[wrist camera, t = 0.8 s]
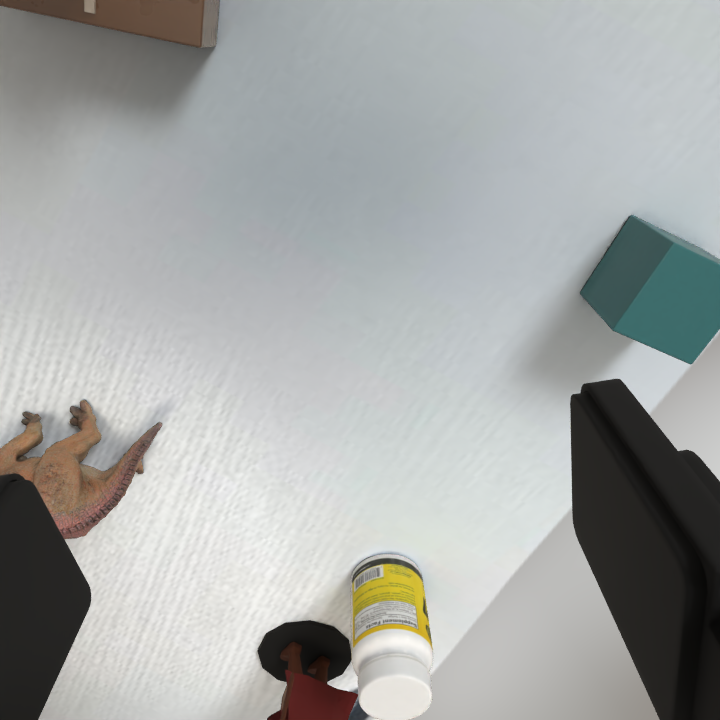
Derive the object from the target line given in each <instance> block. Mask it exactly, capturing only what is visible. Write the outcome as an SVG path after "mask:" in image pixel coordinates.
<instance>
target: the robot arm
mask: <svg viewBox="0 0 720 720" xmlns="http://www.w3.org/2000/svg"><path fill="white" fill-rule="evenodd" d="M570 408H571V459H572V511H573V524H574V528H575V532H576V536H577V538H578V541H579V543H580V545H581V547H582V550H583V552H584V554H585V556H586V559H587V561H588V563H589V565H590V567H591V570H592V572H593V574H594V576H595V578H596V580H597V582H598V585H599V587H600V589H601V592H602V594H603V596H604V598H605V600H606V602H607V605H608V607H609V609H610V611H611V613H612V616H613V618H614V620H615V622H616V624H617V627H618V629H619V631H620V633H621V636H622V638H623V640H624V642H625V644H626V646H627V649H628V651H629V653H630V655H631V657H632V660H633V662H634V664H635V666H636V668H637V671H638V673H639V675H640V677H641V679H642V682H643V684H644V686H645V688H646V690H647V692H648V695H649V697H650V699H651V701H652V704H653V706H654V708H655V710H656V712H657V715H658V717H659V719H660V720H720V481H719V480H718V479H717V478H716V476H715V475H714V474H713V473H712V472H711V470H710V469H709V468H708V467H707V466H706V464H705V463H704V462H703V461H702V460H701V459H700V458H699V457H698V456H697V455H696V454H695V453H694V452H692V451H689V450H683V451H677V449H676V448H675V447H674V446H673V445H672V443H671V442H670V441H669V439H668V438H667V437H666V436H665V435H664V433H663V432H662V431H661V429H660V428H659V427H658V426H657V424H656V423H655V422H654V421H653V419H652V418H651V417H650V416H649V414H648V413H647V412H646V410H645V409H644V408H643V407H642V405H641V404H640V403H639V402H638V400H637V399H636V398H635V397H634V395H633V394H632V393H631V392H630V390H629V389H628V388H627V387H626V385H625V384H624V383H623V382H622V381H621V380H620V379H612V380H606V381H599V382H593V383H586V384H583V385H582V388H581V393H579V394H573V395H572V396H571V402H570ZM90 603H91V590H90V587H89V584H88V583H87V581H86V579H85V577H84V575H83V573H82V571H81V570H80V568H79V566H78V564H77V562H76V560H75V558H74V557H73V555H72V553H71V551H70V549H69V547H68V545H67V544H66V542H65V540H64V538H63V536H62V534H61V532H60V531H59V529H58V527H57V525H56V523H55V521H54V519H53V518H52V516H51V514H50V512H49V510H48V508H47V506H46V505H45V503H44V501H43V499H42V497H41V495H40V493H39V492H38V490H37V488H36V486H35V485H34V483H33V482H31V481H30V480H25V478H24V477H23V476H21V475H20V474H16V473H12V474H6V475H0V720H38V719H39V716H40V714H41V712H42V710H43V708H44V706H45V703H46V701H47V699H48V697H49V695H50V692H51V690H52V688H53V686H54V684H55V681H56V679H57V677H58V675H59V673H60V671H61V668H62V666H63V664H64V662H65V660H66V657H67V655H68V653H69V651H70V649H71V647H72V644H73V642H74V640H75V638H76V636H77V633H78V631H79V629H80V627H81V625H82V623H83V620H84V618H85V616H86V614H87V612H88V609H89V607H90Z"/></svg>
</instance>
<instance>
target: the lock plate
mask: <svg viewBox="0 0 720 720" xmlns="http://www.w3.org/2000/svg"><path fill="white" fill-rule="evenodd" d="M219 1H220V0H0V6H4V7H8V8H13V9H18V10H23V11H27V12H32V13H37V14H41V15H46V16H51V17H56V18H60V19H65V20H70V21H75V22H79V23H84V24H89V25H93V26H98V27H103V28H108V29H112V30H117V31H122V32H126V33H131V34H136V35H141V36H145V37H150V38H155V39H159V40H164V41H169V42H174V43H178V44H183V45H188V46H193V47H197V48H204V47H214V46H216V41H217V28H218V15H219Z"/></svg>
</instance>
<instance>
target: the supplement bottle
mask: <svg viewBox="0 0 720 720" xmlns="http://www.w3.org/2000/svg"><path fill="white" fill-rule="evenodd" d="M351 659H352V666H353V669H354V671H355V673H356V675H357V676H358V694H359V703H360V706H361V708H362V709H363V710H364V711H365V712H366V713H367V714H368V715H370V716H371V717H373V718H376V719H379V720H410V719H413V718H415V717H417V716H419V715H421V714H423V713H424V712H425V711H426V710H427V709H428V707H429V706H430V704H431V702H432V687H431V675H430V670H431V668H432V664H433V648H432V641H431V634H430V628H429V620H428V614H427V606H426V599H425V592H424V585H423V579H422V575H421V572H420V570H419V568H418V567H417V565H416V564H415V563H414V562H412V561H411V560H409V559H408V558H405V557H403V556H400V555H394V554H381V555H376V556H372V557H370V558H368V559H366V560H364V561H363V562H361V563H360V564H359V565H358V566H357V567H356V568H355V570H354V572H353V574H352V577H351Z"/></svg>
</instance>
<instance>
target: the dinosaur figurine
mask: <svg viewBox="0 0 720 720" xmlns="http://www.w3.org/2000/svg"><path fill="white" fill-rule="evenodd" d="M80 408H81V409H79V408H77V407H74V406H71V408H70V412H71V413H72V414H73V415H74V416H75V418H71V420H70V423H71V424H72V425H74V426H78V427H79V429H80V430H81V431H80V432H78V433H76V434H74V435H72V436H70V437H68V438H66V439H64V440H62V441H60V442H56V443H55V444H53V445H52V446H51V447H49V448H47V449H46V451H45V454H44V455H43V456H42V458H40V457H32V458H27V457H25V456H23V455H24V454H26V453H27V452H28V451H29V450H30V449H31V448H33V447H35V446H37V445H38V444H40V443H41V442H42V440H43V434H42V431H41V430H42V425H41V424H40V422H39V421H40V420H41V417H39V415H38V414H36V415H33V414H31V413H28V412H23V416H24V417H26V418H27V419H23V420H22V423H23V424H25V425H27V427H26V430H25V431H24V433H22V434H20V435H18V436H17V437H15V438H14V439H12V440H11V441H10V442H9V443H7V444H6V445H4V446H3V447H2V448H0V475H6V474H12V473H16V474H20V475H21V476H23V477H24V478H25V480H30V481H31V482H33V483H34V485H35V486H36V488H37V490H38V492H39V493H40V495H41V497H42V499H43V501H44V503H45V505H46V506H47V508H48V510H49V512H50V514H51V516H52V518H53V519H54V521H55V523H56V525H57V527H58V529H59V531H60V532H61V534H62V536H63V538H64V539H71V538H78V537H81V536H85V535H86V534H87V533H88V532H89V531H90V530H91V528H92V527H94V526H95V525H97V524H98V522H99V521H100V520H102V519H103V518H104V517H106V516H107V514H108V513H109V512H110V511H111V510H112V509H113V508H114V507H115V506H116V505H118V503H119V501H120V500H121V498H122V497H123V496H124V495H125V494H126V490H127V488H128V487H129V485H130V484H131V482H132V478H133V476H134V474H135V472H137V473H138V474H142V473H143V466H142V462H141V459H142V458H143V455H144V454H145V452H146V451H147V449H148V448H149V446H150V445H151V442H152V441H153V439H154V437H155V436H156V434H157V432H158V431H159V430H160V428H161V427H162V423H161V422H159V423H157V424H156V425H155V426H153V427H152V428H151V429H149V430H148V431H147V432H146V433H145V434H144V435H143V436H142V437H140V438H139V439H138V441H137V442H135V443H134V444H133V445H132V447H131V448H130V449H129V450H128V452H127V453H126V454H124V456H123V458H122V459H121V460H120V461H119V462H118V463H117V464H116V465H115V466H113V467H112V468H110V469H108V470H107V471H100V470H98V469H96V468H93V467H90V466H86V465H82V464H80V462H81V461H83V459H84V458H85V457H86V456H87V454H88V452H89V450H90V448H91V447H93V446H94V445H95V444H97V443H98V442H99V441H100V440H101V434H100V432H99V430H98V428H97V425H96V417H95V416H94V415H93V413H92V409H91V407H90V405H89V404H88V403H87V401H85V400H82V401H81V402H80Z"/></svg>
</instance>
